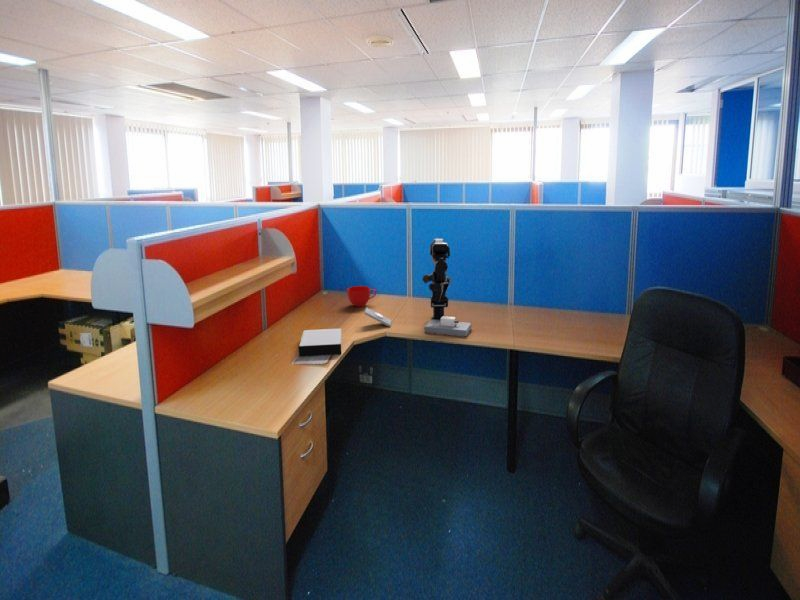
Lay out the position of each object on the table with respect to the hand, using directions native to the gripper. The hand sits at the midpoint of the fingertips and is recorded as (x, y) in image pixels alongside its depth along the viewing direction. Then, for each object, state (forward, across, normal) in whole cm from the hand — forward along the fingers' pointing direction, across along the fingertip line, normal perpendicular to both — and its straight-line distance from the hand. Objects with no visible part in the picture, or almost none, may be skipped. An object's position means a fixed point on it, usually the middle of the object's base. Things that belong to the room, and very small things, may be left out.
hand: (440, 300), depth 235 cm
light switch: (+13, +8, -30) cm, 34 cm away
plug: (+12, +7, +6) cm, 15 cm away
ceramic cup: (+13, -24, -53) cm, 60 cm away
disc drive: (+14, +44, -42) cm, 63 cm away
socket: (+13, +7, +6) cm, 16 cm away
